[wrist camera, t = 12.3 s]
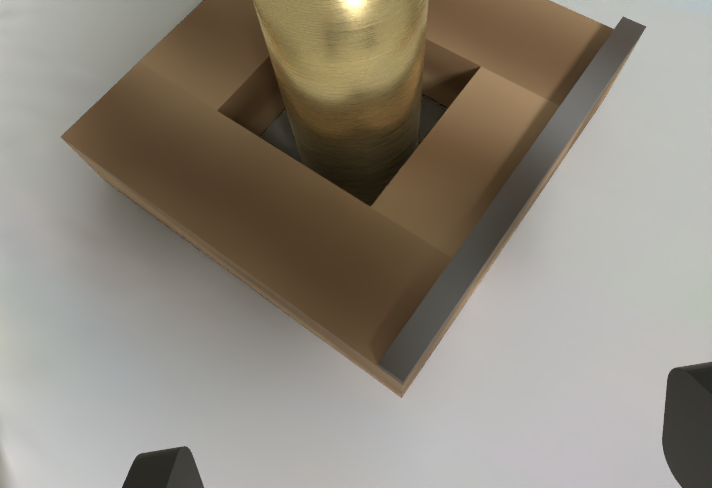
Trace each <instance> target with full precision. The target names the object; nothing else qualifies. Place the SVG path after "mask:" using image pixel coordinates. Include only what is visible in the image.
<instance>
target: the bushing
mask: <svg viewBox="0 0 712 488" xmlns="http://www.w3.org/2000/svg"><path fill="white" fill-rule="evenodd" d="M253 2H254V6H255V9H256V12H257V15H258V19H259V22H260V25H261V29H262V32H263V35H264V39H265V42H266V45H267V49H268V52H269V55H270V59H271V62H272V65H273V69H274V72H275V75H276V78H277V82H278V85H279V88H280V92H281V95H282V98H283V102H284V105H285V108H286V112H287V115H288V118H289V122H290V125H291V128H292V132H293V135H294V138H295V141H296V145H297V148H298V151H299V155H300V158H301V161H302V164H303V165H304V166H306V167H308V168H309V169H311V170H312V171H314V172H316V173H317V174H319V175H320V176H322V177H324V178H325V179H327V180H328V181H330V182H332V183H333V184H335V185H336V186H338V187H340V188H341V189H343V190H344V191H346V192H347V193H349V194H351V195H352V196H354V197H355V198H357V199H359V200H360V201H362V202H363V203H365V204H367V205H368V206H370V205H373V203H374V202H375V201H376V199H377V198H378V197H379V196H380V194H381V193H382V192H383V191H384V189H385V188H386V187H387V186H388V184H389V183H390V182H391V180H392V179H393V178H394V177H395V175H396V174H397V173H398V172H399V170H400V169H401V168H402V166H403V165H404V164H405V163H406V161H407V160H408V159H409V158H410V156H411V155H412V154H413V152H414V151H415V150H416V149H417V147H418V140H419V126H420V112H421V98H422V83H423V69H424V55H425V41H426V27H427V13H428V0H253Z"/></svg>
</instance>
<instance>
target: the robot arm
mask: <svg viewBox="0 0 712 488" xmlns="http://www.w3.org/2000/svg"><path fill="white" fill-rule="evenodd" d="M662 444H663V451H664V455H665V458H666V461H667V464H668V466H669V468H670V470H671V472H672V474H673V476H674V477H675V479H676V480H677V481H678V483H679V484H680V485H681V487H682V488H712V362H708V363H702V364H696V365H689V366H683V367H677V368H674V369H672V370H671V371H670V373H669V375H668V379H667V390H666V401H665V413H664V424H663V436H662ZM122 488H204V486H203V483H202V480H201V478H200V475H199V472H198V469H197V466H196V463H195V461H194V458H193V455H192V453H191V451H190V449H189V448H188V447H185V446H184V447H177V448H171V449H165V450H159V451H153V452H147V453H141V454H139V455H138V456H137V457H136V458H135V460H134V462H133V464H132V466H131V468H130V470H129V473H128V475H127V477H126V480H125V482H124V484H123V487H122Z"/></svg>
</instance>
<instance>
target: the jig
mask: <svg viewBox="0 0 712 488" xmlns="http://www.w3.org/2000/svg"><path fill="white" fill-rule="evenodd" d="M645 28H646V26H643V25H641V24H639V23H636V22H634V21H632V20H630V19H627V18H625V17H623V18H622V19H621V20H620V22H619V23H618V25H617V26H616V27H615V29H612V28H610V27H608V26H606V25H603V24H601V23H599V22H597V21H594V20H592V19H590V18H588V17H585V16H583V15H581V14H579V13H576V12H574V11H572V10H570V9H568V8H565V7H563V6H561V5H559V4H556V3H554V2H552V1H550V0H428V13H427V27H426V41H425V55H424V69H423V83H422V94H424V95H425V96H427V97H429V98H431V99H433V100H435V101H437V102H438V103H440V104H442V105H444V106H446V107H448V109H447V111H446V112H445V113H444V114H443V116H442V117H441V118H440V119H439V121H438V122H437V123H436V125H435V126H434V127H433V128H432V130H431V131H430V132H429V133H428V135H427V136H426V137H425V138H424V140H423V141H422V142H421V144H420V145H419V146H418V147H417V149H416V150H415V151H414V152H413V154H412V155H411V156H410V158H409V159H408V160H407V161H406V163H405V164H404V165H403V166H402V168H401V169H400V170H399V172H398V173H397V174H396V175H395V177H394V178H393V179H392V180H391V182H390V183H389V184H388V186H387V187H386V188H385V189H384V191H383V192H382V193H381V194H380V196H379V197H378V198H377V199H376V201H375V202H374V203H373V205H372V206H371V207H370V206H368V205H367V204H365V203H363V202H362V201H360V200H359V199H357V198H355V197H354V196H352V195H351V194H349V193H347V192H346V191H344V190H343V189H341V188H340V187H338V186H336V185H335V184H333V183H332V182H330V181H328V180H327V179H325V178H324V177H322V176H320V175H319V174H317V173H316V172H314V171H312V170H311V169H309V168H308V167H306V166H304V165H303V164H301V163H300V162H298V161H296V160H295V159H293V158H292V157H290V156H288V155H287V154H285V153H284V152H282V151H281V150H279V149H277V148H276V147H274V146H273V145H271V144H269V143H268V142H266V141H265V140H263V139H261V138H260V136H261V134H262V133H263V132H264V131H265V130H266V129H267V128H268V127H269V126H270V124H271V123H272V122H273V121H274V120H275V119H276V118H277V117H278V116H279V115H280V113H281V112H282V111H283V110H284V109H285V105H284V102H283V98H282V95H281V92H280V88H279V85H278V82H277V78H276V75H275V72H274V69H273V65H272V62H271V59H270V55H269V52H268V49H267V45H266V42H265V39H264V35H263V32H262V29H261V25H260V22H259V19H258V15H257V12H256V9H255V6H254V2H253V0H203V1H202V2H201V3H200V4H199V5H198V6H197V7H196V8H195V9H194V10H193V11H192V12H191V13H190V14H189V15H188V16H187V17H186V18H185V19H184V20H182V21H181V22H180V23H179V24H178V25H177V26H176V27H175V28H174V29H173V30H172V31H171V32H170V33H169V34H168V35H167V36H166V37H165V38H164V39H163V40H162V41H160V42H159V43H158V44H157V45H156V46H155V47H154V48H153V49H152V50H151V51H150V52H149V53H148V54H147V55H146V56H145V57H144V58H143V59H142V60H141V61H140V62H138V63H137V64H136V65H135V66H134V67H133V68H132V69H131V70H130V71H129V72H128V73H127V74H126V75H125V76H124V77H123V78H122V79H121V80H120V81H119V82H118V83H116V84H115V85H114V86H113V87H112V88H111V89H110V90H109V91H108V92H107V93H106V94H105V95H104V96H103V97H102V98H101V99H100V100H99V101H98V102H97V103H95V104H94V105H93V106H92V107H91V108H90V109H89V110H88V111H87V112H86V113H85V114H84V115H83V116H82V117H81V118H80V119H79V120H78V121H77V122H76V123H75V124H73V125H72V126H71V127H70V128H69V129H68V130H67V131H66V132H65V133H64V134H63V135H62V136H61V138H62V139H63V140H64V141H65V142H66V143H67V144H68V145H69V146H70V147H71V148H72V149H73V150H74V151H75V152H77V153H78V154H79V155H80V156H81V157H82V158H83V159H84V160H85V161H86V162H87V163H88V164H89V165H90V166H91V167H92V168H93V169H94V170H95V171H96V172H97V173H98V174H99V175H100V176H101V177H102V178H103V179H104V180H105V181H107V182H108V183H109V184H111V185H112V186H113V187H115V188H116V189H118V190H119V191H120V192H122V193H123V194H124V195H126V196H127V197H128V198H130V199H131V200H133V201H134V202H135V203H137V204H138V205H139V206H141V207H142V208H143V209H145V210H146V211H148V212H149V213H150V214H152V215H153V216H154V217H156V218H157V219H158V220H160V221H161V222H163V223H164V224H165V225H167V226H168V227H169V228H171V229H172V230H173V231H175V232H176V233H178V234H179V235H180V236H182V237H183V238H184V239H186V240H187V241H188V242H190V243H191V244H193V245H194V246H195V247H197V248H198V249H199V250H201V251H202V252H203V253H205V254H206V255H208V256H209V257H210V258H212V259H213V260H214V261H216V262H217V263H218V264H220V265H221V266H223V267H224V268H225V269H227V270H228V271H229V272H231V273H232V274H233V275H235V276H236V277H238V278H239V279H240V280H242V281H243V282H244V283H246V284H247V285H248V286H250V287H251V288H253V289H254V290H255V291H257V292H258V293H259V294H261V295H262V296H263V297H265V298H266V299H268V300H269V301H270V302H272V303H273V304H274V305H276V306H277V307H278V308H280V309H281V310H283V311H284V312H285V313H287V314H288V315H289V316H291V317H292V318H293V319H295V320H296V321H298V322H299V323H300V324H302V325H303V326H304V327H306V328H307V329H308V330H310V331H311V332H313V333H314V334H315V335H317V336H318V337H319V338H321V339H322V340H323V341H325V342H326V343H328V344H329V345H330V346H332V347H333V348H334V349H336V350H337V351H338V352H340V353H341V354H343V355H344V356H345V357H347V358H348V359H349V360H351V361H352V362H353V363H355V364H356V365H358V366H359V367H360V368H362V369H363V370H364V371H366V372H367V373H368V374H370V375H371V376H373V377H374V378H375V379H377V380H378V381H379V382H381V383H382V384H383V385H385V386H386V387H388V388H389V389H390V390H392V391H393V392H394V393H396V394H397V395H398V396H400V397H401V398H402V396H403V395H404V393H405V392H406V391H407V389H408V388H409V386H410V385H411V383H412V382H413V380H414V379H415V377H416V376H417V374H418V373H419V371H420V370H421V368H422V367H423V365H424V364H425V363H426V361H427V360H428V358H429V357H430V355H431V354H432V352H433V351H434V349H435V348H436V346H437V345H438V343H439V342H440V340H441V339H442V337H443V336H444V334H445V333H446V332H447V330H448V329H449V327H450V326H451V324H452V323H453V321H454V320H455V318H456V317H457V315H458V314H459V312H460V311H461V309H462V308H463V306H464V305H465V303H466V302H467V301H468V299H469V298H470V296H471V295H472V293H473V292H474V290H475V289H476V287H477V286H478V284H479V283H480V281H481V280H482V278H483V277H484V275H485V274H486V272H487V271H488V270H489V268H490V267H491V265H492V264H493V262H494V261H495V259H496V258H497V256H498V255H499V253H500V252H501V250H502V249H503V247H504V246H505V244H506V243H507V241H508V240H509V239H510V237H511V236H512V234H513V233H514V231H515V230H516V228H517V227H518V225H519V224H520V222H521V221H522V219H523V218H524V216H525V215H526V213H527V212H528V210H529V209H530V208H531V206H532V205H533V203H534V202H535V200H536V199H537V197H538V196H539V194H540V193H541V191H542V190H543V188H544V187H545V185H546V184H547V182H548V181H549V180H550V178H551V177H552V175H553V174H554V172H555V171H556V169H557V168H558V166H559V165H560V163H561V162H562V160H563V159H564V157H565V156H566V154H567V153H568V151H569V150H570V149H571V147H572V146H573V144H574V143H575V141H576V140H577V138H578V137H579V135H580V134H581V132H582V131H583V129H584V128H585V126H586V125H587V123H588V122H589V120H590V119H591V118H592V116H593V115H594V113H595V112H596V110H597V109H598V107H599V106H600V104H601V103H602V101H603V100H604V98H605V97H606V95H607V93H608V92H609V90H610V88H611V87H612V85H613V83H614V81H615V80H616V78H617V76H618V74H619V73H620V71H621V69H622V68H623V66H624V64H625V62H626V61H627V59H628V57H629V55H630V54H631V52H632V50H633V49H634V47H635V45H636V43H637V42H638V40H639V38H640V36H641V35H642V33H643V31H644V30H645Z"/></svg>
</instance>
